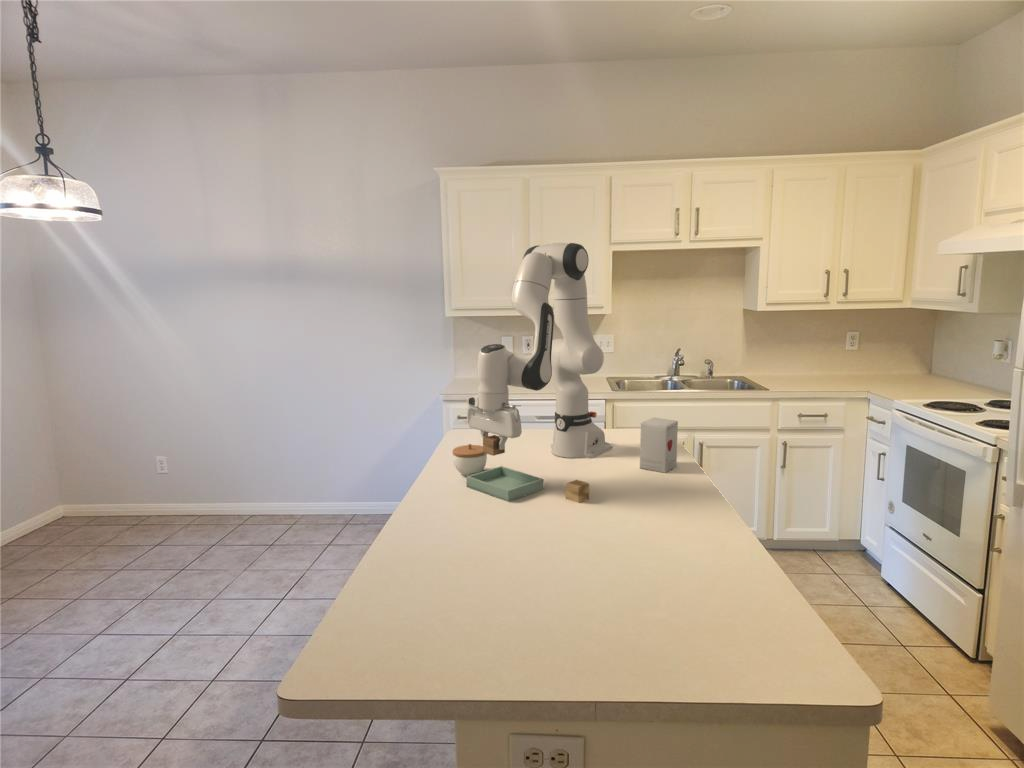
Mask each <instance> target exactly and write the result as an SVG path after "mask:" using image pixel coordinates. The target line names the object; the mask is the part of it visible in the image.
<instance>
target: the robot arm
mask: <svg viewBox="0 0 1024 768" xmlns="http://www.w3.org/2000/svg"><path fill="white" fill-rule="evenodd" d="M588 267H589V254H588V251H587V250H586V248H585V247H584V246H583V245H582V244H579V243H576V242H575V243H574V242H570V243H569V242H568V243H566V242H557V243H555V242H554V243H550V244H543V245H540V244H539V245H534V246H532V247H531V246H530V247H529V248H528V249H526V251H525V252H524V255H523V257H522V261H521V263H520V265H519V268H518V270H517V273H516V276H515V279H514V282H513V286H512V289H511V290H512V291H511V300H510V301H511V303H512V306H513V307H514V309H515V310H516V312H518V314H520V315H522V316H523V317H525V318H526V319H529V320H531V321H532V322H533V324H534V328H535V329H534V338H533V339H534V341H533V349H532V353H531V354H521V353H520V354H519V353H513V352H511V351H509V350H508V349H506V346H505V345H504V344H500V343H494V344H493V343H492V344H487V345H485V346H483V347H481V348H480V350H479V352H478V357H477V379H478V388H477V394H476V395H473V396H468V397H467V398H466V404H467V405H468V406H467V408H466V420H467V421H466V423H467V425H468V427H469V428H470V429H474V430H478V431H480V435H481V437H482V439H483V438H484V437H488V436H489V434H492V435H496V436H499V439H500V442H499V443H497V449H499V450H504V449H505V450H506V443H507V440H508V438H509V439H516V438H520V437H521V435H522V432H523V431H522V420H521V415H520V411H519V409H518V408H517V407H516V405H514V404H509V403H510V402H509V387H508V386H510V387H517V388H524V389H527V390H531V391H541V390H543V388H545V387H546V386H547V385H548V384H549V383H550V382H551V380H552V381H553V385H554V390H555V391H554V393H555V412H554V424H555V425H554V427H553V438H552V444H551V445H550V448H551V454H552V455H555V456H557V457H562V458H569V459H570V458H572V459H573V458H595V457H597V456H599V455H601V454H603V453H605V452H607V451H608V450H611V449H612V448H613V446H612V444H611V443H608V442H606V436H605V432H604V430H603V429H602V428H601V427H599V426H598V425H597V424H595V423H594V422H593V420H592V419H593V418H594V419H595V418H596V417H597V416H598V415H597V411H589V389H588V387H587V386H586V384H585V383H584V382H583V380H582V378H581V376H582V375H584V376H585V375H592V374H596V373H598V372H599V371H600V370H601V369H602V367H603V365H604V360H605V355H604V351H603V350H602V348H601V347H600V346H599V345H598V344H597V342H596V341H595V338H594V336H593V334H592V331H591V330H592V329H591V327H590V323H589V313H588V312H589V310H588V290H587V289H588V287H587V281H586V276H585V273H586V271H587V269H588ZM552 280H553V281H554V282H553V284H554V285H553V307H552V305H551V304H550V303H549V295H550V291H551V284H552ZM554 325H556V326H557V328H558V329H559V330H560V332H561V335H562V338H561V337H560V338H555V339H553V338H554V327H555V326H554Z"/></svg>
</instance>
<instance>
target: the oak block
mask: <svg viewBox="0 0 1024 768" xmlns="http://www.w3.org/2000/svg"><path fill="white" fill-rule="evenodd" d="M589 499H590V483H588V482H586V481H582V480H579V479H575V480H571V481H569V482H566V483H565V500H569V501H572V502H575V503H578V504H579V503H581V502H584V501H587V500H589Z"/></svg>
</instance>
